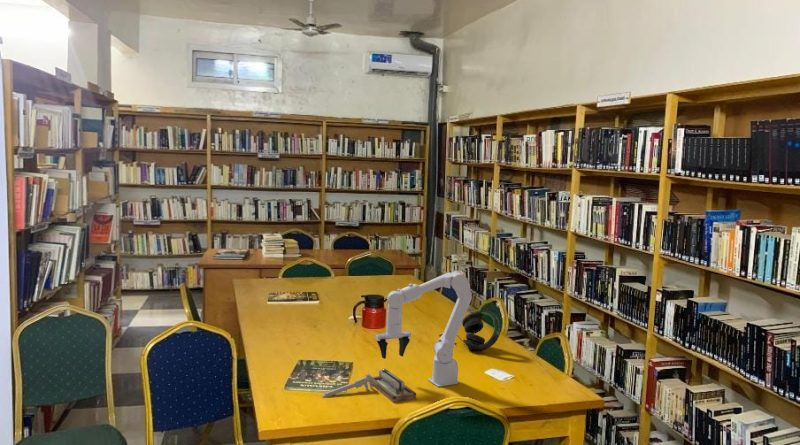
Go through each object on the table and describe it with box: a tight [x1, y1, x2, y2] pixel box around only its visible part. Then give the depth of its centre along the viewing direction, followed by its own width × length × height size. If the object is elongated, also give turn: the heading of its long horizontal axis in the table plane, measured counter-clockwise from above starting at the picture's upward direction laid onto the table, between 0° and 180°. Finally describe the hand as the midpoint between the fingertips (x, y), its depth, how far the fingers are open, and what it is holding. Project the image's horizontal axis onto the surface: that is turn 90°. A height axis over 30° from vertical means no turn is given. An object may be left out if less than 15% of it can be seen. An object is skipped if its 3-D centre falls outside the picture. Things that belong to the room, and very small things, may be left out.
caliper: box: [321, 373, 374, 398], centre depth 220 cm, size 20×1×6 cm, turn 121°
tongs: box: [378, 368, 406, 394], centre depth 224 cm, size 3×14×5 cm, turn 28°
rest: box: [372, 375, 417, 403], centre depth 224 cm, size 9×20×2 cm, turn 28°
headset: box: [438, 309, 502, 351], centre depth 279 cm, size 18×14×29 cm
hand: (392, 356), depth 232 cm, fingers open, 7 cm apart
